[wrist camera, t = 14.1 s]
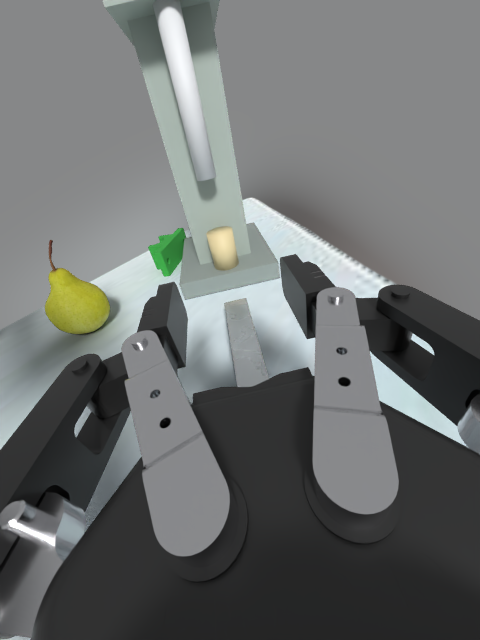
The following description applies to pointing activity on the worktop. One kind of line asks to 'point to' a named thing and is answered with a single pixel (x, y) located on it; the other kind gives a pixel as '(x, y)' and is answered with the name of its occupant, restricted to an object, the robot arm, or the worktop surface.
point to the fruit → (75, 302)
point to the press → (196, 140)
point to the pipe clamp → (168, 251)
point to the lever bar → (244, 345)
